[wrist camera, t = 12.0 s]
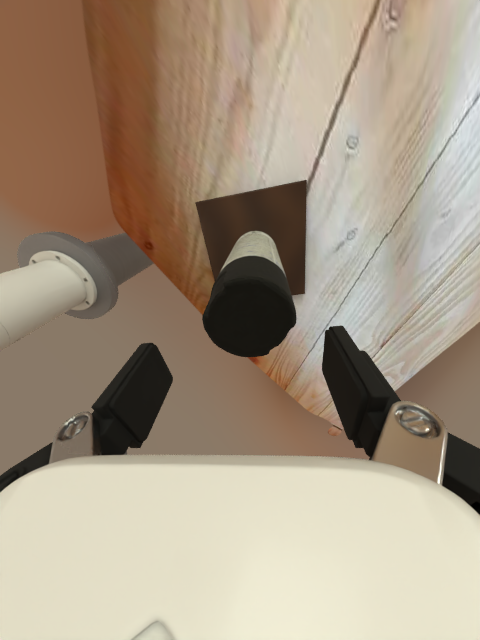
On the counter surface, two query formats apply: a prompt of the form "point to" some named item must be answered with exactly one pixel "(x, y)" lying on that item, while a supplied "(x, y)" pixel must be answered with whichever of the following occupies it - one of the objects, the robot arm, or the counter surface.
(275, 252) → the spray can
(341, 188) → the counter surface
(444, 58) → the counter surface
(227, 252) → the chopping board
